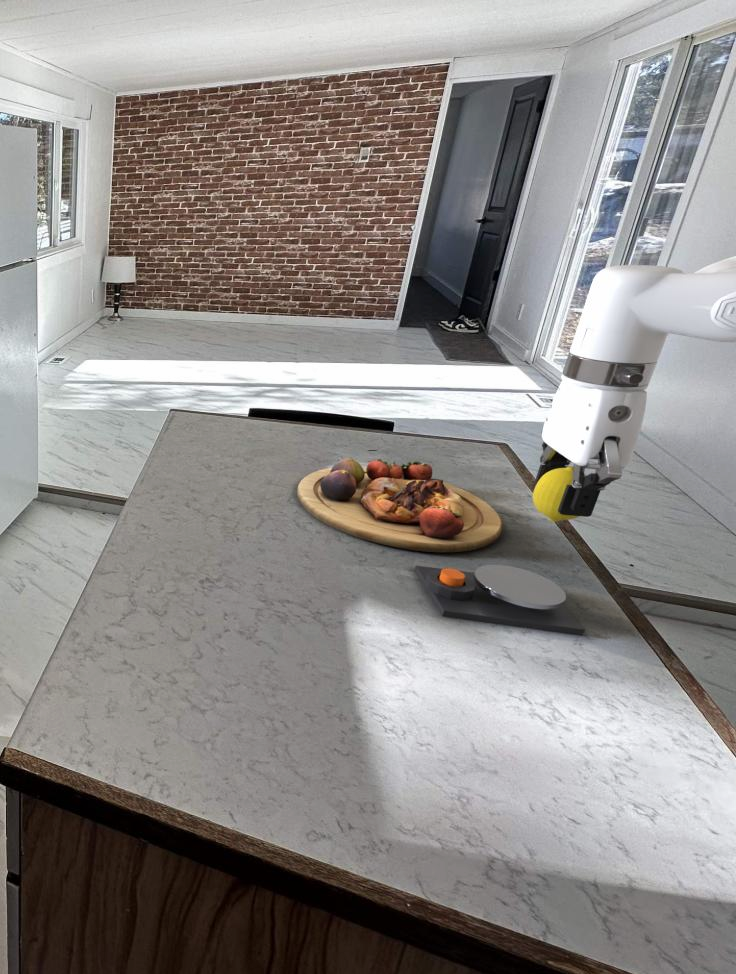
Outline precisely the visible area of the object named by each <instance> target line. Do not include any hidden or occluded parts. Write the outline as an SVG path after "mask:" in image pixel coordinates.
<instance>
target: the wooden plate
mask: <svg viewBox="0 0 736 974" xmlns="http://www.w3.org/2000/svg"><path fill="white" fill-rule="evenodd" d="M367 462H368V465H367V466H362V464H360V463H359V462H358V461H356V460H354V459H353V458H352V457H348V458H345V459H342V460H340V461H338V462H336V463H335V464H334V465H333V466H332V467H329V468H324V469H319V470H315V471H313V472H311V473H309V474H307V475H305V476H304V477H303V478H302V479H301V480H300V481H299V483H298V485H297V489H296V494H297V499H298V500H299V503H300V504H301V505H302V507H303V509H305V510H306V511H307V512H308V513H309V514H311V516H313V517H314V518H316V519H317V520H319V521H320V522H322V523H324V524H326V525H327V526H330V527H332V528H334V529H336V530H338V531H341V532H343V533H344V534H348V535H350V536H353V537H356V538H358V539H362V540H364V541H368V542H372V543H375V544H380V545H383V546H388V547H393V548H397V549H403V550H409V551H418V552H425V553H461V552H468V551H474V550H477V549H480V548H484V547H487V546H489V545H491V544H493V543H494V542H495V541H497V540H498V539H499V538H500V535H501V534H502V531H503V527H504V526H503V521H502V519H501V517H500V516H499V514H498V512H497V511H496V510H495V509H494V508H493V507H492V506H491V505H489V503H487V502H486V501H484V500H482V498H480V497H478V496H476V495H475V494H473V493H471V492H469V491H467V490H464V489H462V488H460V487H458V486H455V485H452V484H450V483H447V482H444V479H438V478H432V477H433V467H432V466H431V464H428V463H426V462H423V463H422V462H421V461H420V460H417V461H415V460H413V461H412V462H411V461H408V462H407V464H404V463H403V464H402V465H399V464H396V462H395V461H393V462H391V463H389V464H388V462H387V460H386V461H385V460H384V461H383V460H382V459H381V458H378V459H376V460H371V461H368V460H367Z"/></svg>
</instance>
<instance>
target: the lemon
mask: <svg viewBox="0 0 736 974" xmlns="http://www.w3.org/2000/svg"><path fill="white" fill-rule="evenodd" d="M568 466H569V467H567V468H558V469H554V470H551V471H549V472H547V473H546V474H544V475H543V476H542V477H541V478H540V480H539V481H538V483H537V484H536V486H535V489H534V491H533V493H532V502H533V504H534V507H535V509H536V510H537V511H538V512H539V513H540V514H542V515H543V516H545V517H546V518H547V519H548V520H549V521H550V522H553V523H557V522H559V521H570V520H574V519H577V518H579V517H580V516H572V515H562V514H560V513H559V512H558V508H559V505H560V502H561V500H562V497H563V494H564V491H565V488H566V485H572V476H573V468H574V466H570V465H568ZM585 476H587V474H585V473H584V477H585Z"/></svg>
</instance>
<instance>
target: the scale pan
mask: <svg viewBox="0 0 736 974" xmlns="http://www.w3.org/2000/svg"><path fill="white" fill-rule="evenodd" d="M474 581H475V582H476V584H477V585H478V586H479V587H480V588H481V589H483V590H484V591H486V592H487V593H489V594H491V595H492V596H494V597H496V598H499V599H501V600H503V601H506V602H509V603H512V604H515V605H519V606H523V607H527V608H533V609H545V610H546V609H556V608H559V607H561V606H562V605H563V606H564V604H565V602H566V600H567V595H566V592H565V590H564V589H563V588H562V587H561V586H560V585H558V584H557V583H555V582H554V581H552V580H551V579H549V578H547V577H544V576H543V575H540V574H539V573H535V572H533V571H530V570H527V569H524V568H520V567H517V566H510V565H505V564H485V565H481V566H479V567H477V568H476V569H475V570H474Z"/></svg>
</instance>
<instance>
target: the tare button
mask: <svg viewBox="0 0 736 974" xmlns="http://www.w3.org/2000/svg"><path fill="white" fill-rule="evenodd" d="M442 569H443V570H442V571H441V574H440V578H439V580H440V581H441V582H443V583H444V584H447V585H450V586H455V587H462V586H463V583H464V580H465V575H464V574H463V573H462V572H460V571H461V570H457V569H454V568H448V567H447V568H442Z"/></svg>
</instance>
